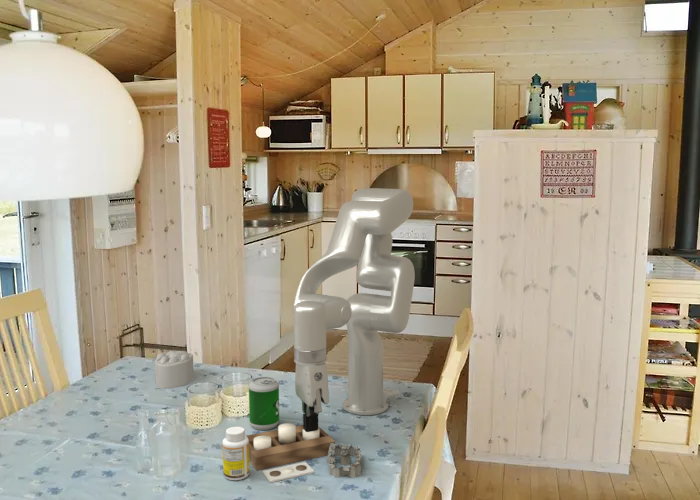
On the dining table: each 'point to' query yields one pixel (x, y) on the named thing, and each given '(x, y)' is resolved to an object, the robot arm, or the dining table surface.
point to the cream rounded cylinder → (262, 442)
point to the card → (288, 472)
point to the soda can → (264, 403)
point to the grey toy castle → (344, 460)
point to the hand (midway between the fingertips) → (310, 429)
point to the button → (311, 434)
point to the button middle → (287, 433)
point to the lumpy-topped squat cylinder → (173, 369)
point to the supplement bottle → (235, 454)
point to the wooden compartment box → (288, 449)
